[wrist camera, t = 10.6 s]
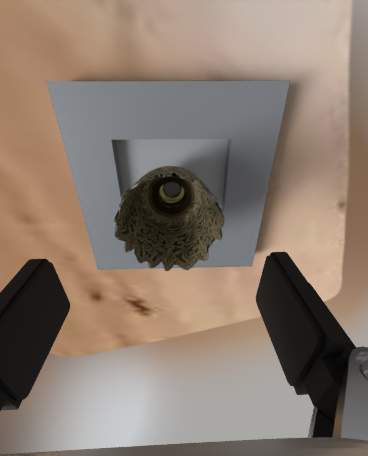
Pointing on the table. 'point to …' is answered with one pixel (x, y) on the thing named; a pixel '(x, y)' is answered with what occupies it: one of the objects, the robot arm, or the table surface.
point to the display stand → (171, 152)
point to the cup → (169, 219)
